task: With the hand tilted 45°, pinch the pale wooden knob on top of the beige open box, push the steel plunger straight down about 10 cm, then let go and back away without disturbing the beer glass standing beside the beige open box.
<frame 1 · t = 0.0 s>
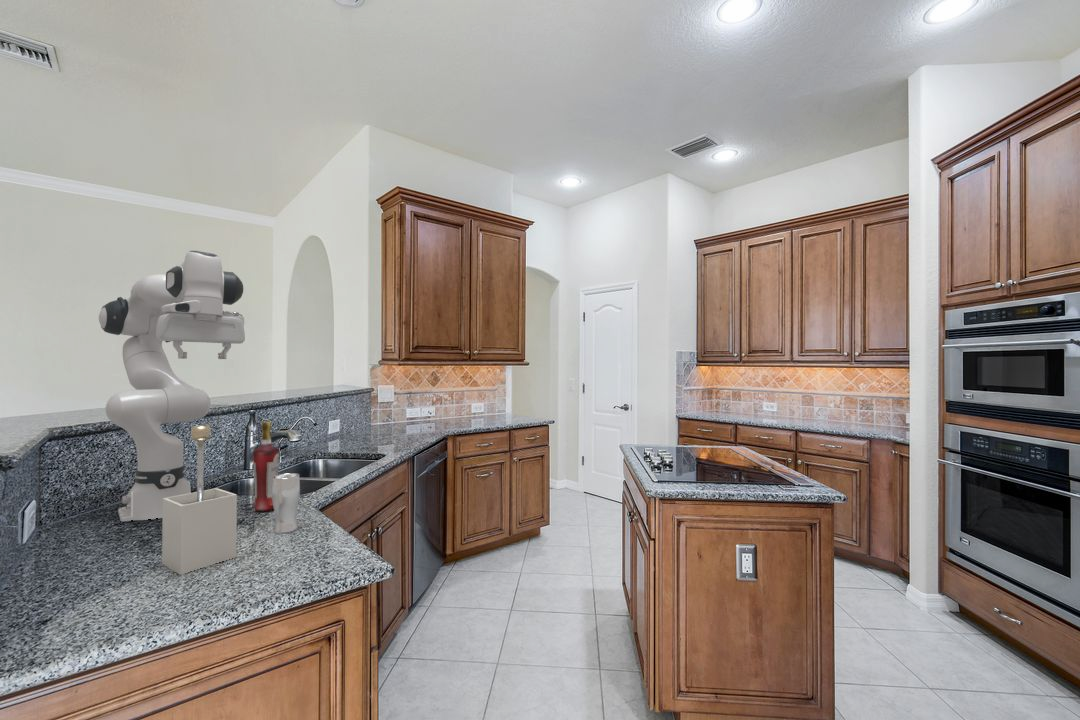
hand: (203, 358, 127), 48 cm above the worktop, tool pointing down, fingers open, 8 cm apart
liquor: (265, 510, 147), on the worktop
plunger: (200, 467, 108), point 22 cm above the worktop, slide at 0.0 cm
beer glass: (285, 530, 128), on the worktop
beige open box: (199, 560, 108), on the worktop
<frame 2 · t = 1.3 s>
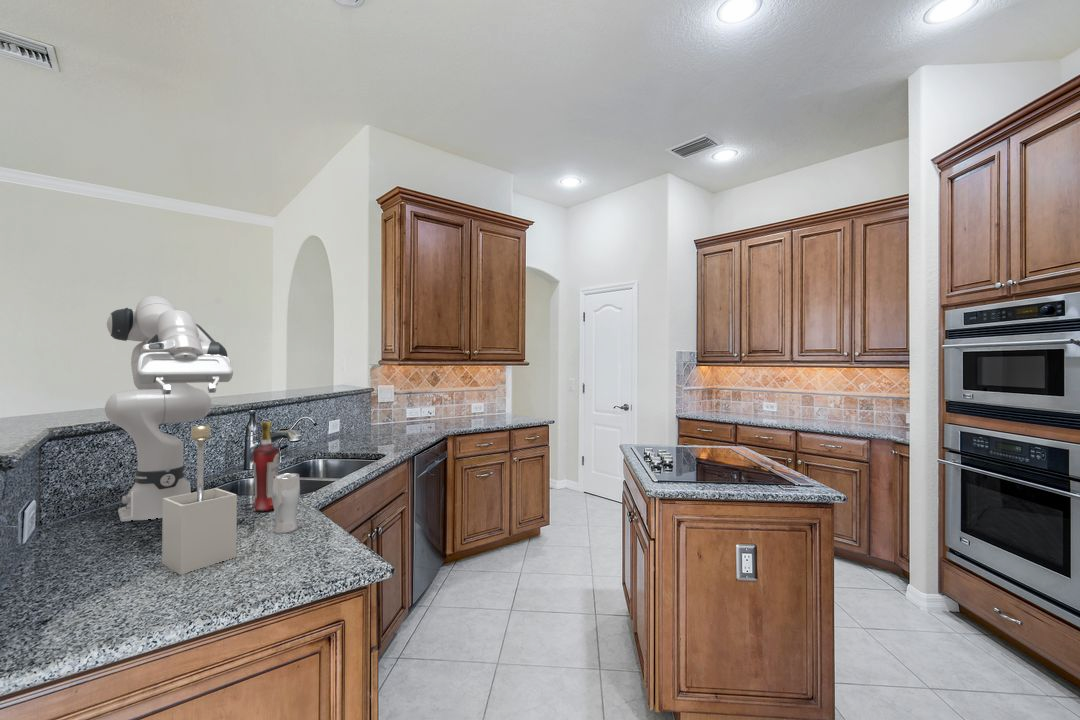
hand: (190, 391, 117), 39 cm above the worktop, tool tilted 45°, fingers open, 8 cm apart
nothing on the worktop moved.
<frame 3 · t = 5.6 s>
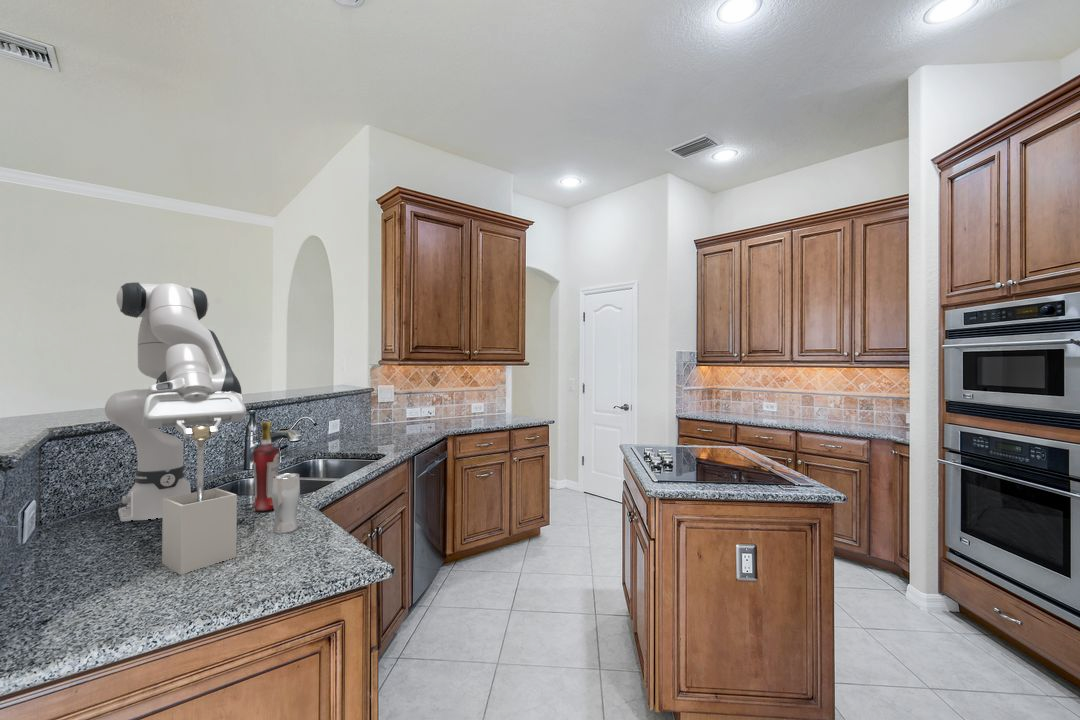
hand: (201, 435, 108), 29 cm above the worktop, tool tilted 45°, fingers closed on plunger, 4 cm apart
plunger: (200, 467, 108), point 22 cm above the worktop, slide at 0.0 cm, touching gripper
everything else where it was.
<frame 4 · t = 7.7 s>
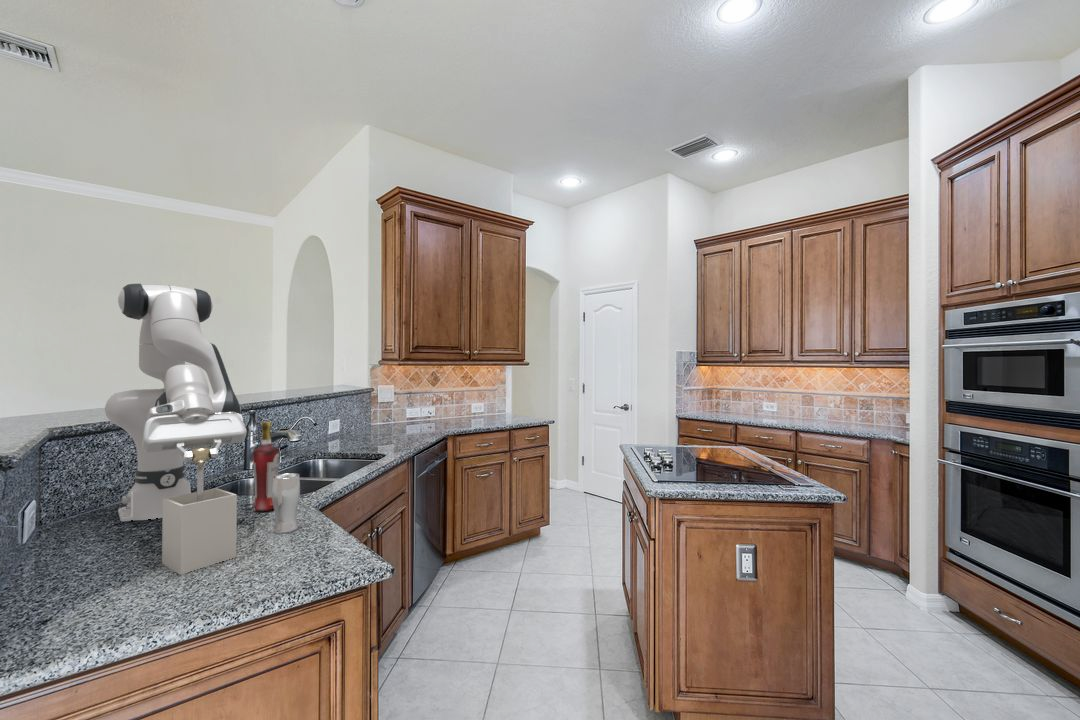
hand: (201, 458, 107), 24 cm above the worktop, tool tilted 45°, fingers closed on plunger, 4 cm apart
plunger: (200, 489, 108), point 17 cm above the worktop, slide at 5.1 cm, touching gripper
everything else where it was.
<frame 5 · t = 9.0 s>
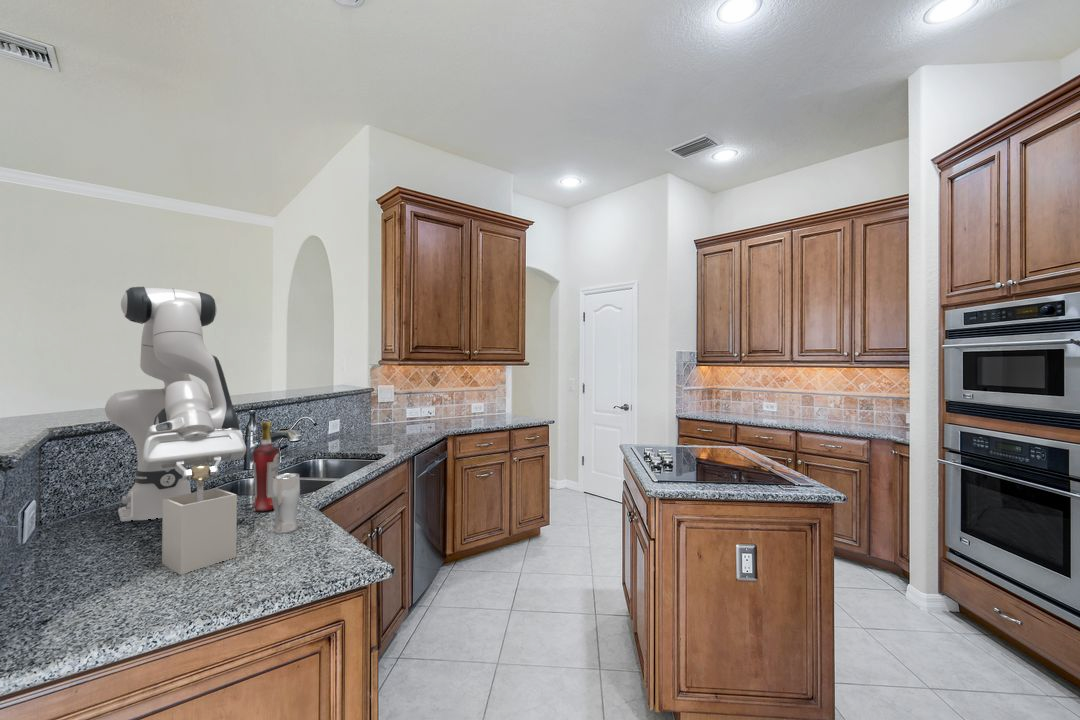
hand: (201, 476, 107), 20 cm above the worktop, tool tilted 45°, fingers closed on plunger, 4 cm apart
plunger: (200, 507, 108), point 13 cm above the worktop, slide at 9.3 cm, touching gripper
everything else where it was.
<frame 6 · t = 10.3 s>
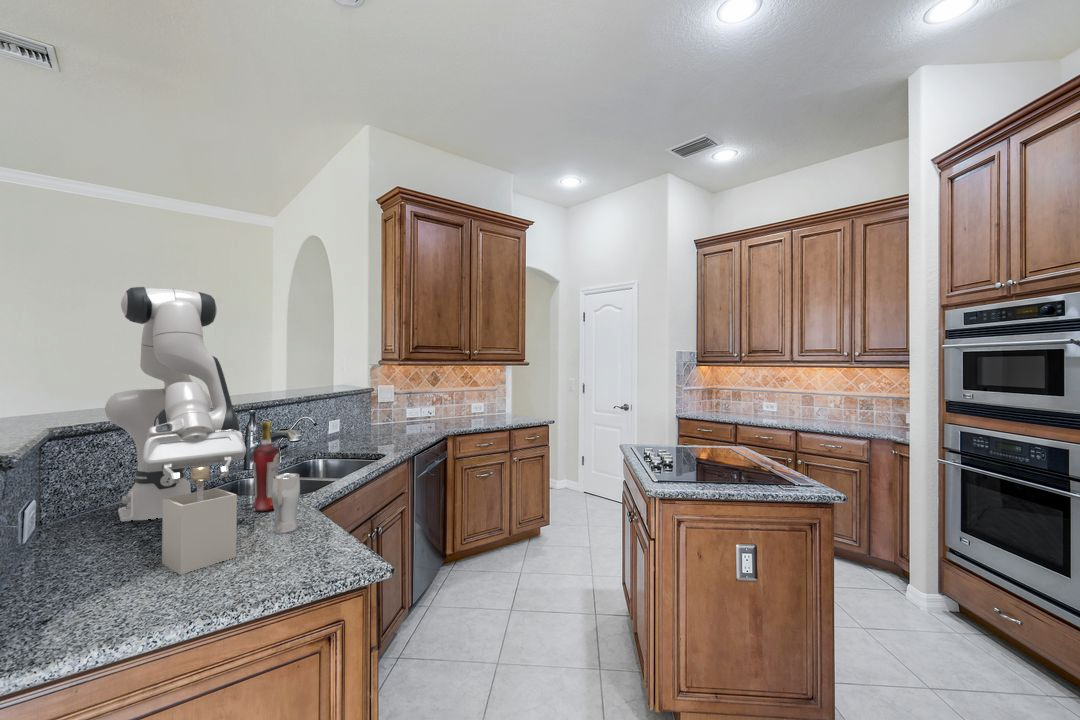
hand: (200, 478, 108), 19 cm above the worktop, tool tilted 45°, fingers open, 8 cm apart
plunger: (200, 508, 108), point 12 cm above the worktop, slide at 9.6 cm
everything else where it was.
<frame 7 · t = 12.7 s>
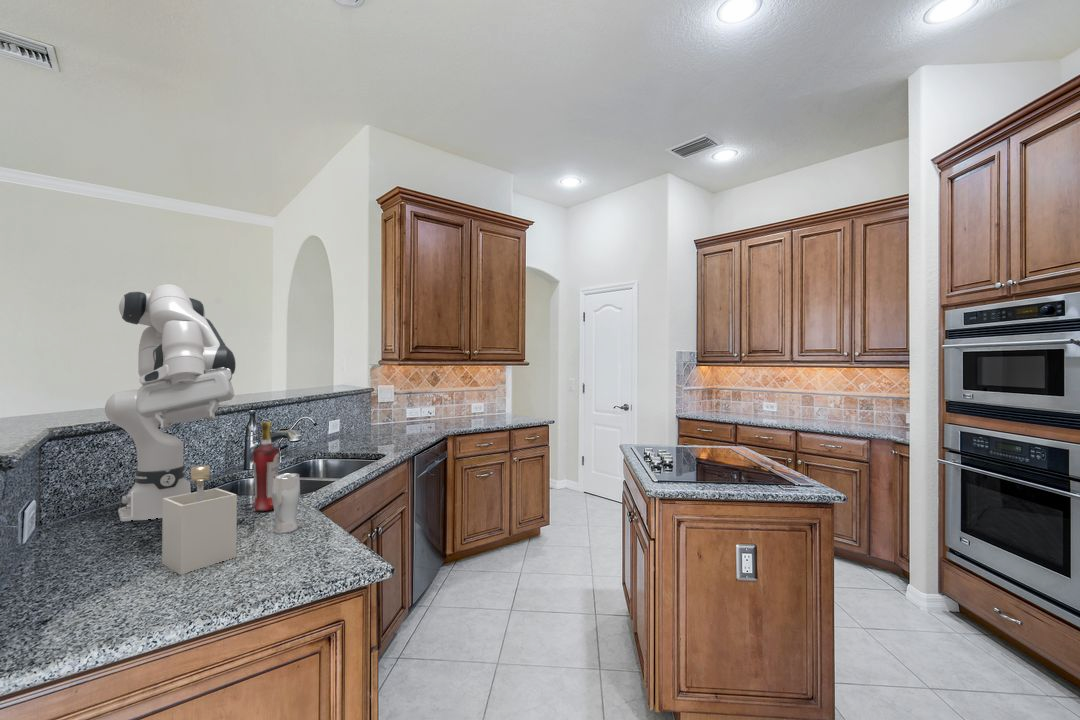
hand: (188, 423, 114), 31 cm above the worktop, tool tilted 30°, fingers open, 8 cm apart
nothing on the worktop moved.
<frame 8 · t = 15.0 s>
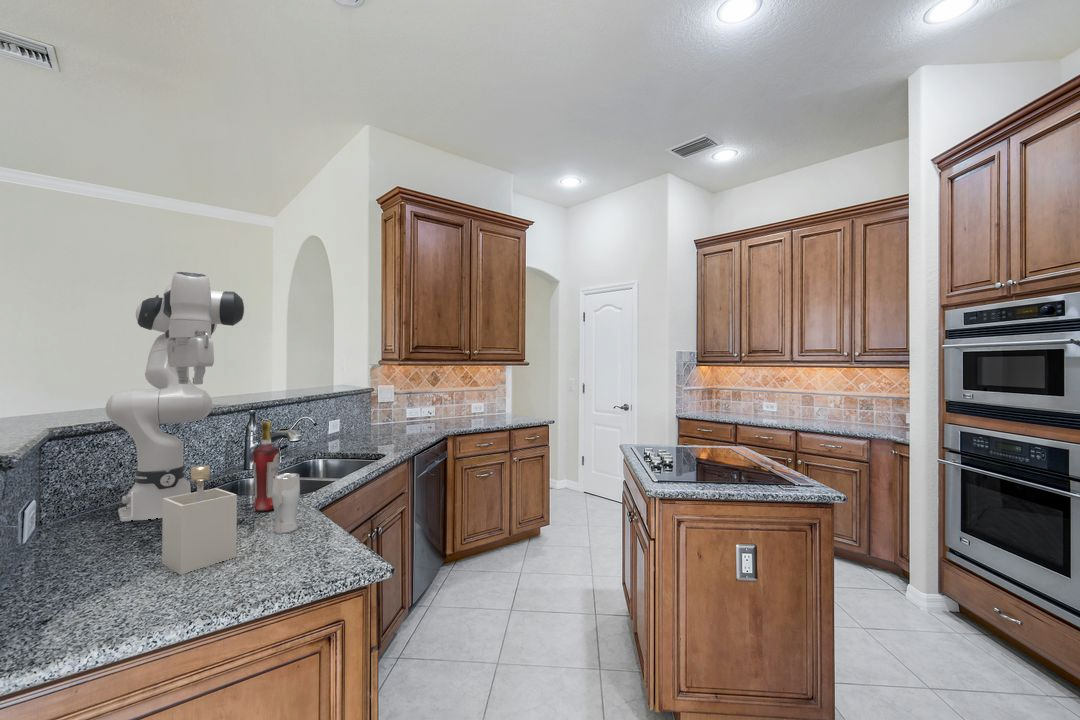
hand: (190, 384, 122), 41 cm above the worktop, tool pointing down, fingers open, 8 cm apart
nothing on the worktop moved.
at the end: plunger slide at 9.6 cm; the gripper is holding nothing; beer glass moved 0.2 cm from its start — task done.
